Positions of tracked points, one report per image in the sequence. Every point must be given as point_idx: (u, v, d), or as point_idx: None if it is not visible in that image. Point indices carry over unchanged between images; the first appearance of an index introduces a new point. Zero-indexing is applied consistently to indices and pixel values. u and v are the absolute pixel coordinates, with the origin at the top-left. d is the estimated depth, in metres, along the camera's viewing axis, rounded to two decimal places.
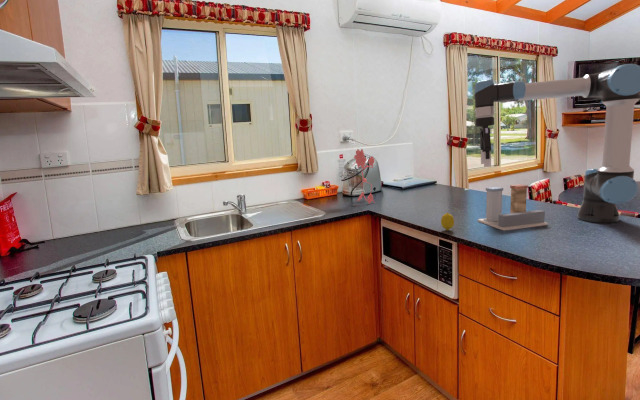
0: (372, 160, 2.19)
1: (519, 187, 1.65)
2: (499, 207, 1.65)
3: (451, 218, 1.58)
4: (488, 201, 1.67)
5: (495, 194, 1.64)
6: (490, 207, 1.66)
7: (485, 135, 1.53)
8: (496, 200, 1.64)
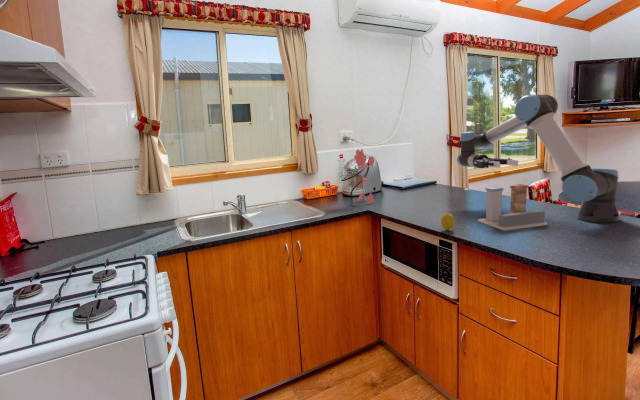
0: (372, 160, 2.19)
1: (519, 187, 1.65)
2: (499, 207, 1.65)
3: (451, 218, 1.58)
4: (488, 201, 1.67)
5: (495, 194, 1.64)
6: (490, 207, 1.66)
7: (477, 164, 1.85)
8: (496, 200, 1.64)
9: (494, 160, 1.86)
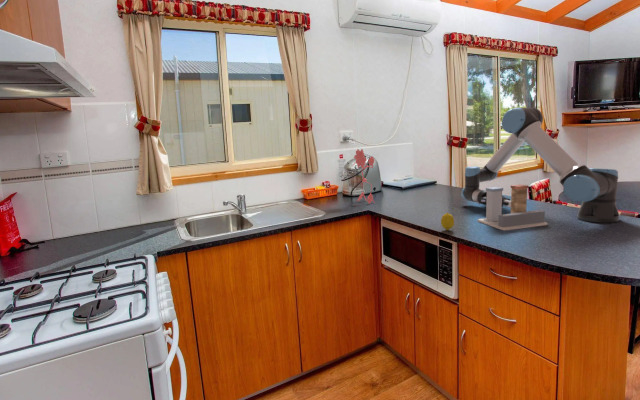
0: (372, 160, 2.19)
1: (519, 187, 1.65)
2: (499, 207, 1.65)
3: (451, 218, 1.58)
4: (488, 201, 1.67)
5: (495, 194, 1.64)
6: (490, 207, 1.66)
7: None
8: (496, 200, 1.64)
9: None
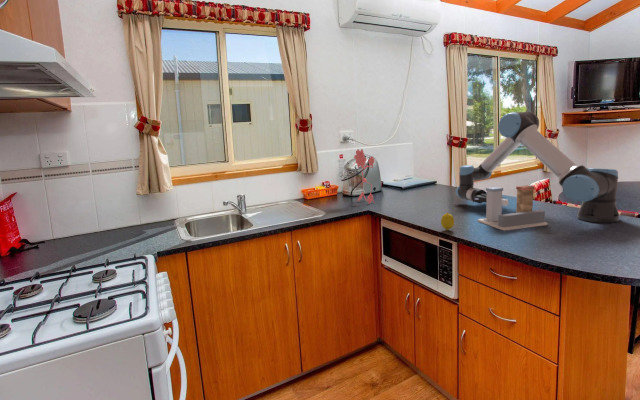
0: (372, 160, 2.19)
1: (525, 188, 1.62)
2: (499, 207, 1.65)
3: (451, 218, 1.58)
4: (488, 201, 1.67)
5: (495, 194, 1.64)
6: (490, 207, 1.66)
7: (480, 200, 1.88)
8: (496, 200, 1.64)
9: None
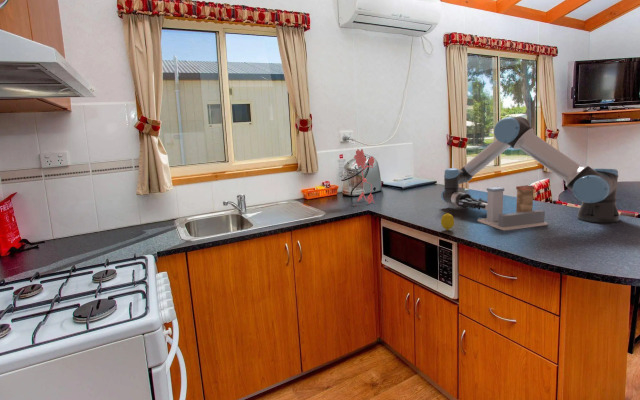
0: (372, 160, 2.19)
1: (525, 188, 1.62)
2: (500, 208, 1.65)
3: (451, 218, 1.58)
4: (489, 201, 1.66)
5: (496, 194, 1.63)
6: (491, 207, 1.65)
7: (464, 205, 1.81)
8: (497, 200, 1.64)
9: (474, 201, 1.82)
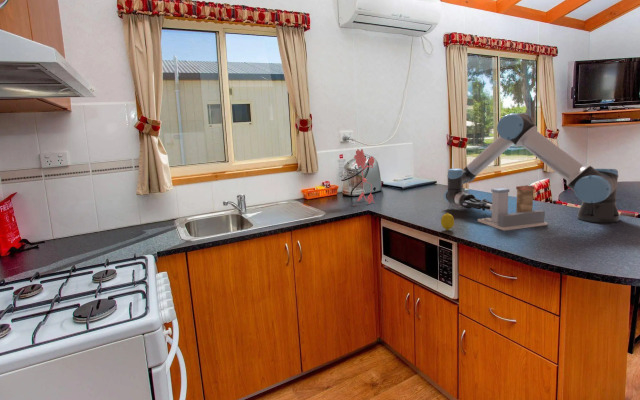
0: (372, 160, 2.19)
1: (525, 188, 1.62)
2: (505, 209, 1.62)
3: (451, 218, 1.58)
4: (494, 202, 1.63)
5: (501, 195, 1.60)
6: (496, 208, 1.62)
7: (468, 205, 1.78)
8: (501, 202, 1.61)
9: (478, 202, 1.79)
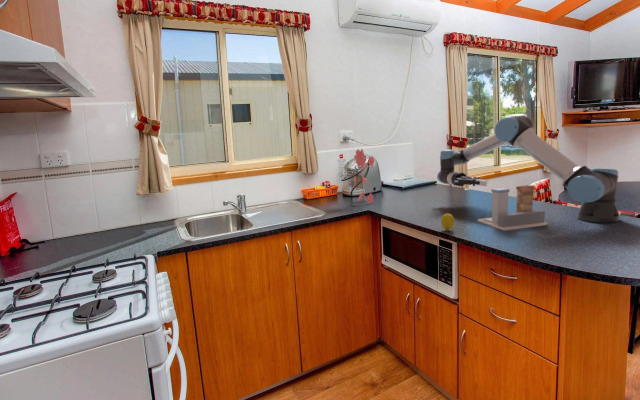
0: (372, 160, 2.19)
1: (525, 188, 1.62)
2: (505, 209, 1.62)
3: (451, 218, 1.58)
4: (494, 202, 1.63)
5: (501, 195, 1.60)
6: (496, 208, 1.62)
7: (459, 182, 1.88)
8: (501, 202, 1.61)
9: (469, 179, 1.90)
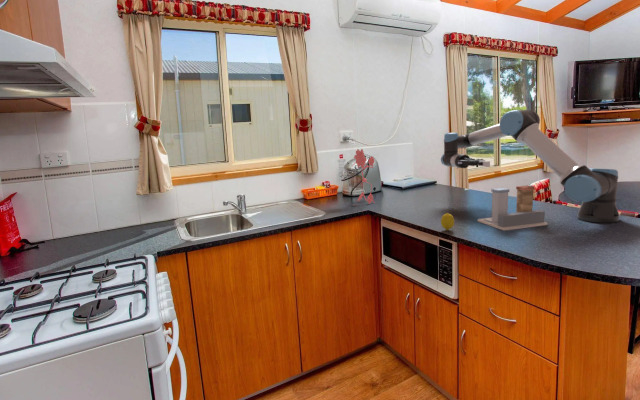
0: (372, 160, 2.19)
1: (525, 188, 1.62)
2: (505, 209, 1.62)
3: (451, 218, 1.58)
4: (494, 202, 1.63)
5: (501, 195, 1.60)
6: (496, 208, 1.62)
7: (463, 164, 1.90)
8: (501, 202, 1.61)
9: (472, 160, 1.91)
